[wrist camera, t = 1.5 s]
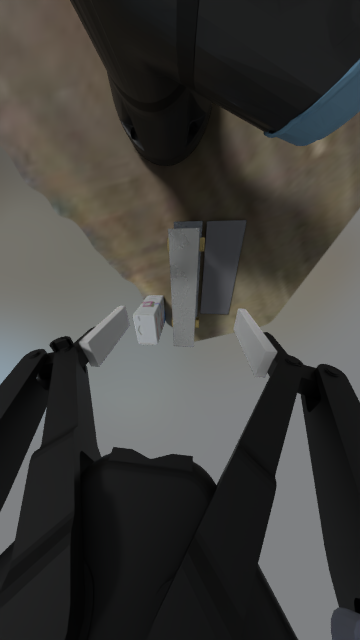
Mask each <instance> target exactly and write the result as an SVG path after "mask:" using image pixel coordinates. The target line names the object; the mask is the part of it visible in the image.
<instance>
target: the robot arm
mask: <svg viewBox="0 0 360 640" xmlns="http://www.w3.org/2000/svg"><path fill="white" fill-rule="evenodd" d="M70 1H71V3H72V5H73V7H74V9H75V11H76V13H77V14H78V16H79V18H80V20H81V22H82V24H83V26H84V28H85V30H86V32H87V33H88V35H89V37H90V39H91V41H92V43H93V45H94V47H95V49H96V51H97V53H98V55H99V57H100V58H101V60H102V62H103V64H104V66H105V68H106V70H107V74H108V79H109V83H110V87H111V92H112V96H113V100H114V104H115V107H116V111H117V113H118V116H119V119H120V121H121V124H122V126H123V128H124V130H125V132H126V134H127V135H128V137H129V138H130V140H131V142H132V143H133V145H134V146H135V148H136V149H137V150H138V151H139V152H140V154H141V155H143V156H144V157H145V158H146V159H147V160H149V161H151V162H152V163H155V164H158V165H163V166H169V165H174V164H176V163H179V162H180V161H182V160H184V159H185V158H186V157H187V156H188V155H189V154H190V153H191V152H192V151H193V150H194V149H195V147H196V146H197V144H198V143H199V141H200V139H201V137H202V135H203V133H204V131H205V128H206V126H207V123H208V120H209V116H210V112H211V107H212V102H213V103H215V104H217V105H218V106H220V107H222V108H224V109H225V110H227V111H229V112H231V113H232V114H234V115H236V116H238V117H239V118H241V119H243V120H245V121H246V122H248V123H250V124H252V125H253V126H255V127H257V128H259V129H260V130H262V131H264V135H265V136H267V137H269V138H273V137H278V138H280V139H282V140H285V141H287V142H289V143H291V144H294V145H296V146H305V145H308V144H311V143H313V142H315V141H316V140H320V139H322V138H324V137H326V136H328V135H329V134H331V133H332V132H334V131H335V130H337V129H338V128H339V127H341V126H342V125H343V124H345V123H346V122H347V121H348V120H350V119H351V118H352V117H353V116H355V115H356V114H357V113H358V112H360V0H70ZM129 326H130V323H129V319H128V315H127V311H126V307H125V306H118V307H117V308H116V309H115V310H114V311H113V312H112V313H111V314H109V315H108V316H107V317H106V318H105V319H104V320H103V321H102V322H100V323H99V324H98V325H97V326H95V327H93V328H91V329H90V330H88V331H87V332H86V333H85V334H84V335H83V336H82V337H80V338H79V339H78V340H77V341H76V342H75V343H73V341H72V340H71V338H70V337H68V336H65V337H60V338H58V339H56V340H54V341H52V342H51V343H50V347H51V348H52V350H53V351H54V352H52V353H47V352H46V351H45V350H44V349H38V350H34V351H32V352H30V353H28V354H26V355H25V356H24V357H23V358H22V359H21V360H20V362H19V363H18V364H17V365H16V366H15V368H14V369H13V370H12V371H11V373H10V374H9V375H8V376H7V377H6V379H5V380H4V381H3V382H2V383H1V385H0V511H1V509H2V507H3V505H4V503H5V501H6V498H7V496H8V494H9V492H10V489H11V487H12V485H13V483H14V480H15V478H16V476H17V473H18V471H19V469H20V467H21V464H22V462H23V460H24V457H25V455H26V453H27V451H28V448H29V446H30V443H31V441H32V439H33V436H34V435H35V432H36V430H37V428H38V425H39V423H40V421H41V418H42V416H43V414H44V412H45V409H46V407H47V410H46V417H45V424H44V431H43V437H42V444H41V447H40V449H38V450H36V451H35V452H34V453H33V455H32V456H31V460H30V463H29V469H28V474H27V479H26V485H25V490H24V495H23V501H22V506H21V511H20V517H19V522H18V527H17V533H16V538H15V541H14V542H13V543H12V544H11V545H10V546H9V547H8V548H7V549H6V550H5V551H4V552H3V553H2V554H1V555H0V640H298V639H297V637H296V635H295V633H294V631H293V629H292V627H291V626H290V623H289V622H288V620H287V618H286V616H285V614H284V612H283V610H282V608H281V606H280V605H279V603H278V601H277V599H276V597H275V595H274V593H273V591H272V589H271V588H270V586H269V584H268V582H267V580H266V578H265V576H264V574H263V573H262V571H261V569H260V567H259V565H258V561H259V557H260V553H261V549H262V545H263V541H264V537H265V532H266V528H267V524H268V520H269V516H270V512H271V508H272V504H273V500H274V496H275V491H276V479H275V474H276V470H277V466H278V462H279V458H280V454H281V451H282V447H283V443H284V440H285V436H286V432H287V428H288V425H289V421H290V417H291V414H292V410H293V406H294V402H295V399H296V395H297V393H299V394H301V399H302V406H303V412H304V419H305V425H306V431H307V438H308V444H309V451H310V457H311V463H312V470H313V475H314V482H315V488H316V495H317V501H318V508H319V514H320V519H321V527H322V533H323V539H324V546H325V551H326V556H327V561H328V566H329V571H330V574H331V578H332V582H333V586H334V590H335V594H336V597H337V601H338V604H339V608H337V609H336V610H334V612H333V615H332V618H331V634H332V640H360V402H359V400H358V398H357V396H356V394H355V392H354V390H353V388H352V386H351V384H350V383H349V380H348V379H347V377H346V375H345V374H344V373H343V372H342V371H340V370H339V369H337V368H335V367H333V366H330V365H327V364H320V365H318V367H317V368H314V367H310V366H306V365H303V363H302V362H301V361H300V360H299V359H297V358H295V357H293V356H290V355H288V354H287V353H286V352H285V350H284V349H283V348H282V347H281V345H280V344H279V343H278V342H277V341H276V339H275V338H274V337H273V336H272V335H271V334H269V333H268V332H262V331H261V329H260V328H259V326H258V325H257V324H256V322H255V321H254V320H253V318H252V317H251V316H250V314H249V313H248V312H247V310H246V309H238V312H237V317H236V321H235V325H234V331H235V333H236V335H237V337H238V340H239V342H240V344H241V347H242V349H243V351H244V353H245V356H246V358H247V360H248V362H249V365H250V367H251V369H252V371H253V374H254V376H255V377H265V376H266V374H267V372H268V374H269V376H270V378H269V380H268V382H267V384H266V386H265V388H264V390H263V392H262V394H261V396H260V399H259V400H258V402H257V404H256V406H255V409H254V410H253V413H252V415H251V417H250V419H249V421H248V423H247V425H246V427H245V429H244V431H243V433H242V435H241V437H240V439H239V441H238V443H237V445H236V447H235V449H234V451H233V454H232V456H231V457H230V459H229V461H228V464H227V465H226V467H225V470H224V471H223V473H222V475H221V477H220V479H219V482H218V483H217V485H216V484H215V482H214V481H213V479H212V478H211V477H210V475H209V474H208V473H207V472H206V471H205V470H204V469H203V468H202V467H201V466H199V465H198V464H196V463H194V462H193V456H186V455H177V454H170V455H166V456H162V457H158V458H154V459H149V458H147V457H145V456H143V455H142V454H140V453H138V452H136V451H134V450H133V449H125V448H117V447H113V449H112V452H111V453H110V454H108V455H105V456H103V457H101V455H100V452H99V450H98V447H97V440H96V432H95V425H94V417H93V409H92V401H91V393H90V386H89V378H88V370H87V366H86V364H87V363H88V362H89V363H90V365H91V366H96V367H99V366H100V365H101V364H102V362H103V361H104V360H105V358H106V357H107V355H108V354H109V353H110V352H111V350H112V349H113V348H114V346H115V345H116V344H117V342H118V341H119V340H120V338H121V336H122V335H123V334H124V333H125V331H126V330H127V329H128V327H129Z"/></svg>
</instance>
